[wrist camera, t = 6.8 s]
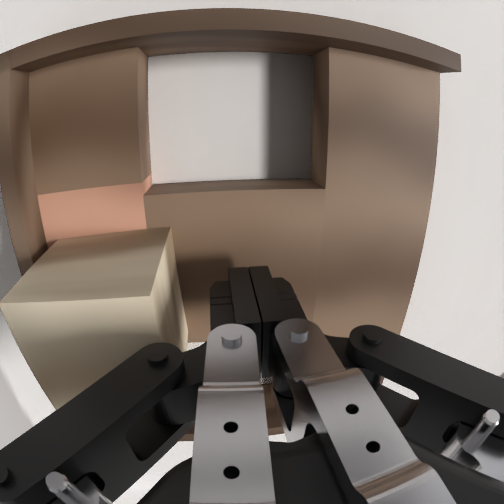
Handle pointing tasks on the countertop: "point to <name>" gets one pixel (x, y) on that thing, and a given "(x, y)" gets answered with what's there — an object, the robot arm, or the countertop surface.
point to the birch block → (95, 307)
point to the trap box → (233, 191)
